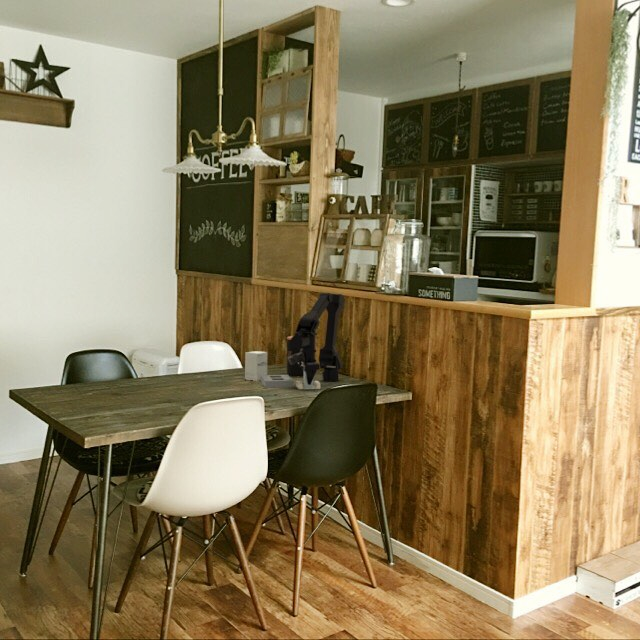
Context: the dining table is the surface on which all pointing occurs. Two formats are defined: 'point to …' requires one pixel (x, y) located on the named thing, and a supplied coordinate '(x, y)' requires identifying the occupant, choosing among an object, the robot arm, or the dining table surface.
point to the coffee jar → (295, 369)
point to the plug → (306, 382)
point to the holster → (300, 386)
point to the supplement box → (255, 365)
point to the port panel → (276, 381)
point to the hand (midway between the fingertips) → (308, 383)
